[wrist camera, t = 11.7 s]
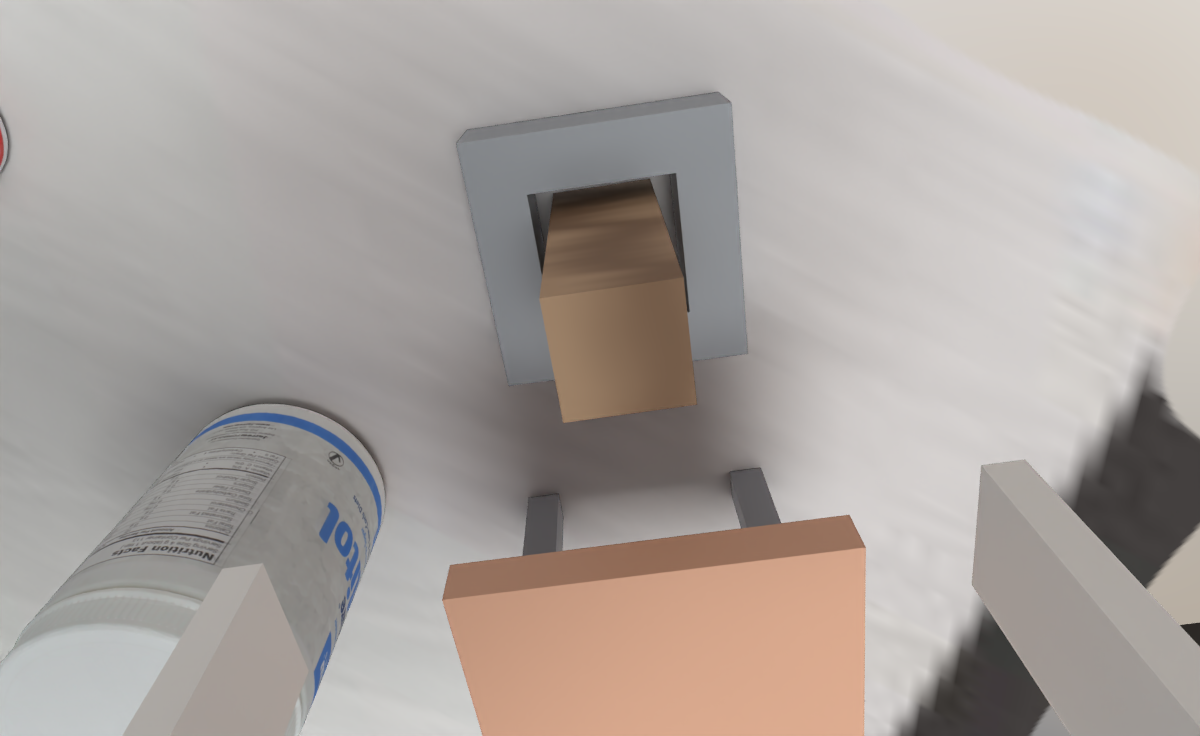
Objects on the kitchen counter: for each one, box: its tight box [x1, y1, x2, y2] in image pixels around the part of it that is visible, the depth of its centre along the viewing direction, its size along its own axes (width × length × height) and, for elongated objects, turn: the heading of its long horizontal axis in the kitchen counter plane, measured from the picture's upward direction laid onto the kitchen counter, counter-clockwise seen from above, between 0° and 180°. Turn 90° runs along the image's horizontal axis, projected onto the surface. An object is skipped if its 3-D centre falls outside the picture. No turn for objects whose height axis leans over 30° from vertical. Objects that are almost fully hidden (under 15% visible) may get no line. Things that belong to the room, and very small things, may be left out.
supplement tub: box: [0, 404, 385, 736], centre depth 32 cm, size 10×10×15 cm
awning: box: [442, 468, 866, 736], centre depth 31 cm, size 12×9×15 cm
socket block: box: [456, 92, 748, 386], centre depth 32 cm, size 10×10×3 cm
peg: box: [539, 179, 697, 423], centre depth 28 cm, size 4×4×12 cm
